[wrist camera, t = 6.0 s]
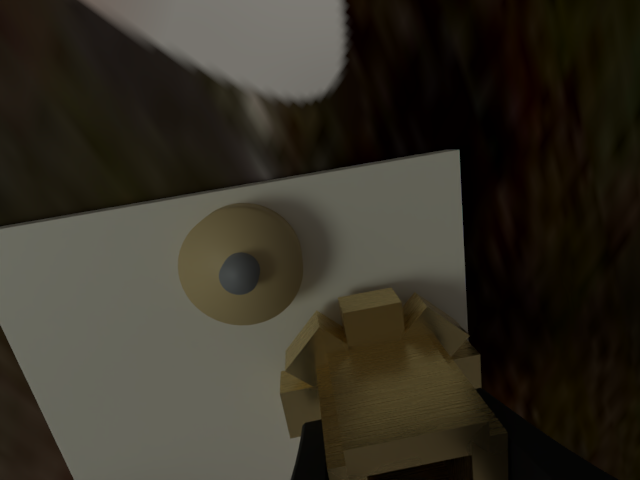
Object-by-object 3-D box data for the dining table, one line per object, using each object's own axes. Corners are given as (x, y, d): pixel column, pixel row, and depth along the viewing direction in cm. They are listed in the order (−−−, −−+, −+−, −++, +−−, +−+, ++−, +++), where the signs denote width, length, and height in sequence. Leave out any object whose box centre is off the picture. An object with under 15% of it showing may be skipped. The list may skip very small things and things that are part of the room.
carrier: (464, 458, 17) (515, 551, 13) (120, 529, 16) (66, 648, 12) (446, 149, 13) (514, 150, 9) (-16, 229, 12) (-159, 267, 8)
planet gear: (468, 429, 14) (556, 571, 10) (302, 463, 14) (307, 626, 9) (460, 274, 12) (567, 355, 8) (266, 310, 12) (251, 417, 7)
